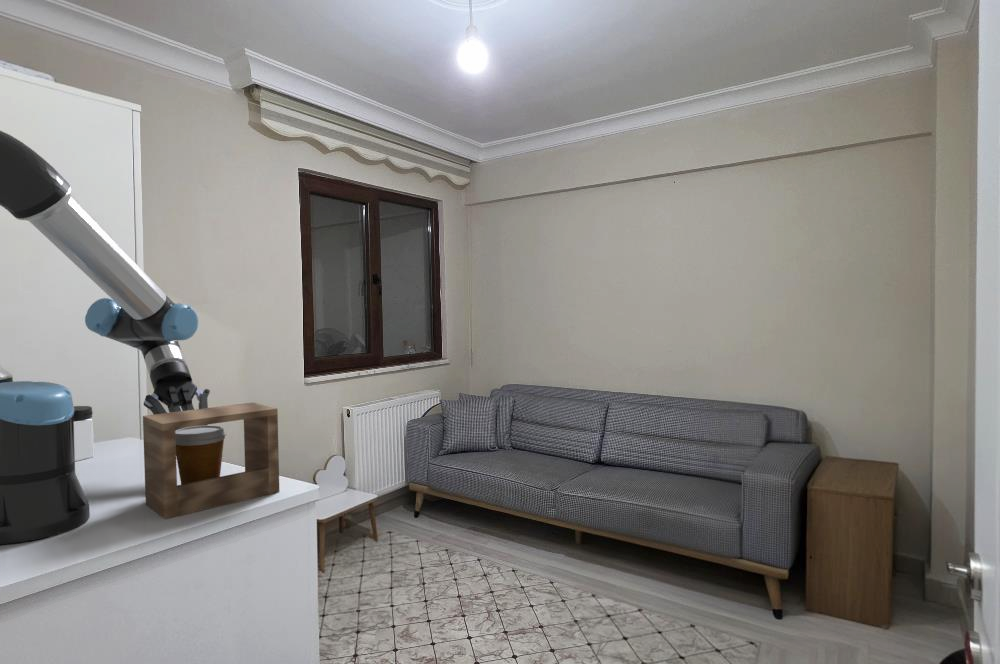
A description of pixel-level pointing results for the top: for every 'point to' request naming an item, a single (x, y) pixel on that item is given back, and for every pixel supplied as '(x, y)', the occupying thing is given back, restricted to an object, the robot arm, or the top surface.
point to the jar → (83, 433)
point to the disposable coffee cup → (199, 452)
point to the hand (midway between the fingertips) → (198, 459)
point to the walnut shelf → (215, 491)
